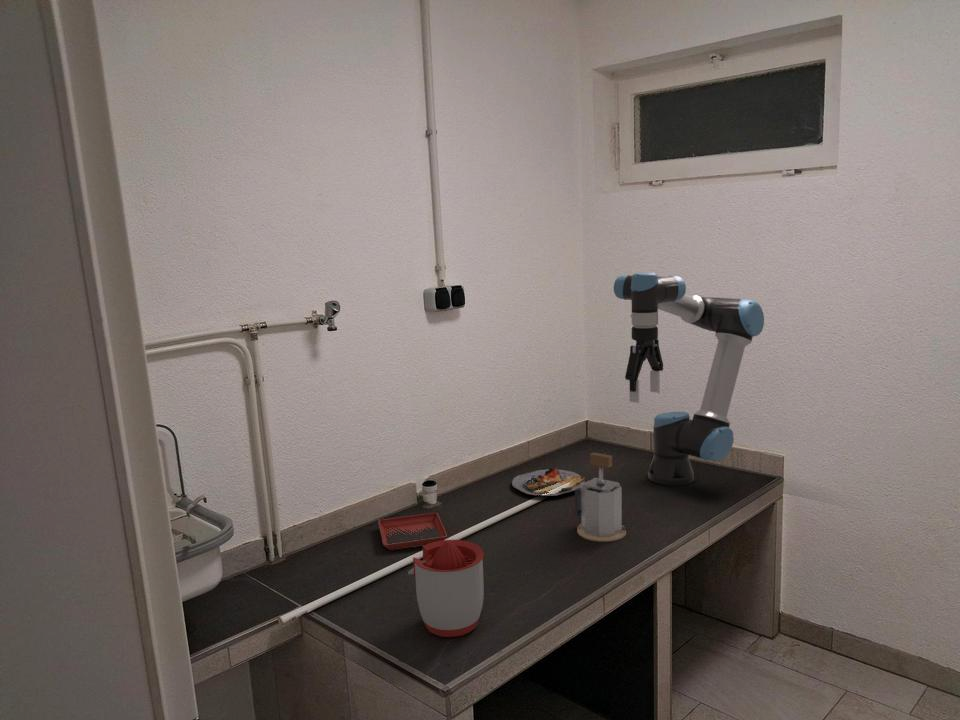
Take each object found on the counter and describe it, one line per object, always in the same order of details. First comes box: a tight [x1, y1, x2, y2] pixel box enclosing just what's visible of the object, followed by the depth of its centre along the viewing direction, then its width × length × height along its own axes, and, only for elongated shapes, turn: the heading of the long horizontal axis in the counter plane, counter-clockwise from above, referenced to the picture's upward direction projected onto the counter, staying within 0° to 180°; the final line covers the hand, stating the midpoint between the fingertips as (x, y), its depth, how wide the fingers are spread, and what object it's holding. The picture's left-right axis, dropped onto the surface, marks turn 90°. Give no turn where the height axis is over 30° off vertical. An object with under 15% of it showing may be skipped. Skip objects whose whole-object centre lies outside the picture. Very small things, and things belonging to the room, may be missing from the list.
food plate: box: [511, 467, 587, 497], centre depth 248 cm, size 25×23×4 cm
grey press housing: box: [574, 477, 627, 543], centre depth 210 cm, size 14×15×15 cm
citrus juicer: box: [407, 539, 485, 638], centre depth 163 cm, size 16×17×20 cm
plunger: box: [589, 452, 613, 492], centre depth 208 cm, size 7×7×19 cm
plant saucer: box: [377, 512, 448, 550], centre depth 212 cm, size 18×18×3 cm
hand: (644, 397), depth 217 cm, fingers open, 13 cm apart
